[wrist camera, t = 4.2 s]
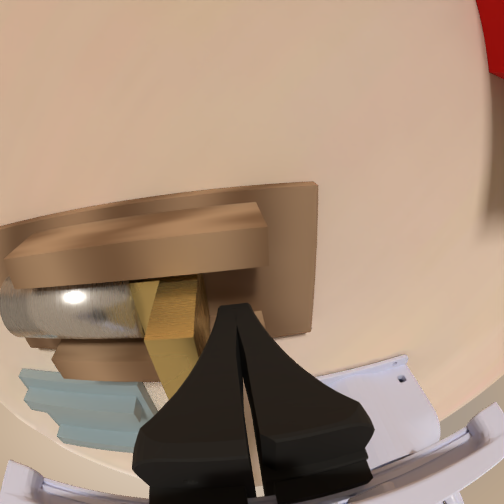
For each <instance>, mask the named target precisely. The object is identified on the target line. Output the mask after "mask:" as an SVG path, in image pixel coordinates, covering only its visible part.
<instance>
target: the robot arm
mask: <svg viewBox="0 0 504 504" xmlns="http://www.w3.org/2000/svg"><path fill="white" fill-rule="evenodd" d="M407 361H408V356H407V355H406V354H404V355H400V356H397V357H394V358H391V359H387V360H384V361H380V362H377V363H373V364H369V365H365V366H362V367H358V368H354V369H350V370H345V371H341V372H337V373H332V374H328V375H323V376H318V377H314V376H312V375H311V374H310V373H308V372H307V371H305V370H304V369H303V368H302V367H301V366H299V365H298V364H297V363H296V362H295V361H294V360H293V359H292V358H290V357H289V356H288V355H287V354H286V353H285V352H284V351H283V350H282V349H281V347H280V346H279V345H278V344H277V343H276V342H275V341H274V340H273V338H272V337H271V336H270V335H269V333H268V332H267V331H266V329H265V328H264V327H263V325H262V324H261V323H260V321H259V319H258V318H257V316H256V315H255V313H254V311H253V309H252V307H251V305H250V304H249V303H240V304H230V305H221V306H220V307H219V308H218V312H217V316H216V320H215V323H214V326H213V329H212V331H211V334H210V336H209V339H208V341H207V343H206V345H205V347H204V349H203V351H202V353H201V355H200V357H199V359H198V361H197V363H196V364H195V366H194V368H193V369H192V371H191V372H190V374H189V375H188V377H187V378H186V380H185V381H184V382H183V384H182V385H181V386H180V388H179V389H178V390H177V392H176V393H175V394H174V395H173V396H172V397H171V398H170V400H169V401H168V402H167V403H166V404H165V405H164V406H163V407H162V408H161V409H160V410H159V411H158V412H157V413H156V414H155V415H154V416H153V417H152V418H151V419H150V420H149V421H147V422H146V423H145V424H144V425H143V426H142V427H141V428H140V429H139V432H138V435H137V438H136V442H135V445H134V451H133V462H132V470H133V471H134V472H135V473H136V474H137V475H138V476H139V477H140V478H141V479H142V480H143V481H144V482H146V483H147V484H148V485H149V486H150V490H149V499H146V498H137V497H129V496H122V495H115V494H109V493H104V492H99V491H94V490H89V489H84V488H80V487H76V486H72V485H69V484H65V483H61V482H58V481H55V480H51V479H48V478H45V477H43V476H42V475H41V474H40V473H38V472H37V471H35V470H34V469H32V468H30V467H28V466H26V465H23V464H20V463H18V462H15V461H13V460H9V461H8V464H7V468H6V472H5V475H4V480H3V484H2V488H1V492H0V504H464V502H463V499H462V496H461V494H460V492H459V491H460V490H462V489H464V488H465V487H466V486H468V485H469V484H471V483H472V482H474V481H475V480H477V479H478V478H479V477H481V476H482V475H483V474H485V473H486V472H487V471H489V470H490V469H491V468H492V467H494V466H495V465H496V464H498V463H499V462H500V461H501V460H502V459H503V458H504V413H503V411H502V410H501V408H500V407H499V405H498V404H497V403H496V402H493V403H492V404H490V405H489V406H488V407H486V408H485V409H483V410H482V411H480V412H479V413H477V414H476V415H475V416H474V417H473V418H472V419H471V420H470V421H469V423H468V424H467V426H466V427H464V428H462V429H460V430H459V431H457V432H455V433H453V434H452V435H450V436H448V437H446V438H444V439H443V440H441V441H439V439H440V424H439V420H438V416H437V414H436V411H435V409H434V408H433V406H432V404H431V403H430V401H429V399H428V398H427V396H426V395H425V393H424V391H423V390H422V388H421V387H420V385H419V383H418V382H417V380H416V379H415V377H414V375H413V374H412V372H411V371H410V369H409V368H408V366H407V365H406V363H407ZM243 379H244V384H245V388H246V392H247V396H248V400H249V403H250V408H251V413H252V419H253V425H254V432H255V438H256V445H257V451H258V457H259V464H260V470H261V476H262V482H263V489H264V494H265V496H264V497H256V491H255V485H254V478H253V472H252V466H251V459H250V452H249V445H248V438H247V431H246V424H245V417H244V404H243ZM444 501H445V503H444Z"/></svg>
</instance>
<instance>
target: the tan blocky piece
mask: <svg viewBox="0 0 504 504" xmlns="http://www.w3.org/2000/svg"><path fill="white" fill-rule="evenodd" d="M128 284H129V287H130V290H131V294H132V297H133V300H134V303H135V306H136V309H137V312H138V315H139V318H140V321H141V324H142V327H143V329H144V332H145V338H144V342H145V345H146V347H147V350H148V352H149V355H150V357H151V360H152V362H153V365H154V367H155V370H156V372H157V374H158V377H159V379H160V381H161V383H162V386H163V388H164V390H165V392H166V395H167V397H168V399H169V400H170V398H171V397H172V396H173V395H174V394H175V393H176V392H177V390H178V389H179V388H180V386H181V385H182V384H183V382H184V381H185V380H186V378H187V377H188V375H189V374H190V372H191V371H192V369H193V368H194V366H195V364H196V363H197V361H198V359H199V357H200V355H201V353H202V351H203V349H204V347H205V345H206V343H207V341H208V339H209V336H210V334H209V306H208V301H207V295H206V289H205V283H204V277H203V273H198V274H188V275H178V276H168V277H158V278H147V279H136V280H130V281H129V283H128Z"/></svg>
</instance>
